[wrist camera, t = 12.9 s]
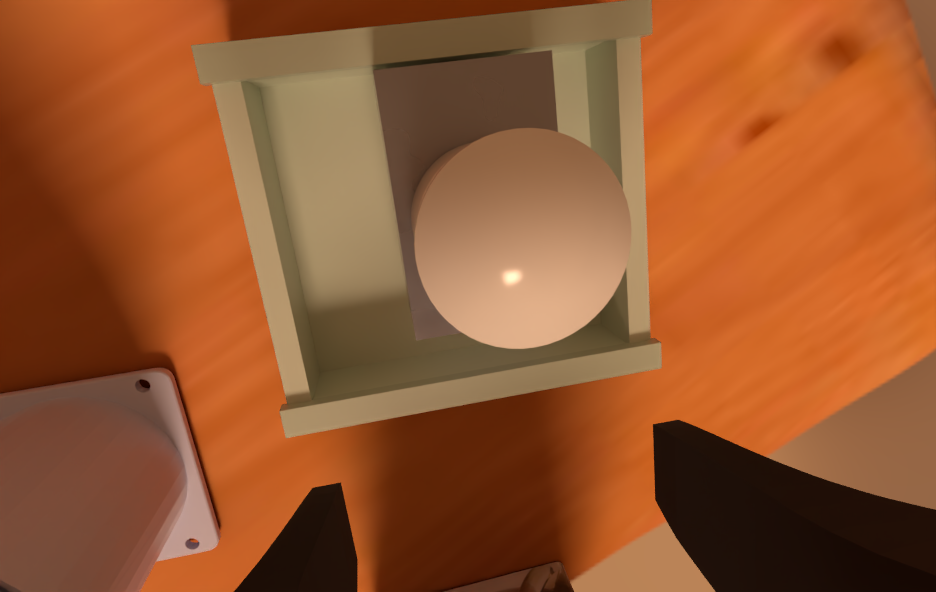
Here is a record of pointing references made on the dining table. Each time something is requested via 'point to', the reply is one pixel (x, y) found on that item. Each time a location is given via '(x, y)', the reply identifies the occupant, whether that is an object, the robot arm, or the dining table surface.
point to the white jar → (520, 236)
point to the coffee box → (525, 581)
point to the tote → (372, 216)
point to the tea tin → (451, 134)
